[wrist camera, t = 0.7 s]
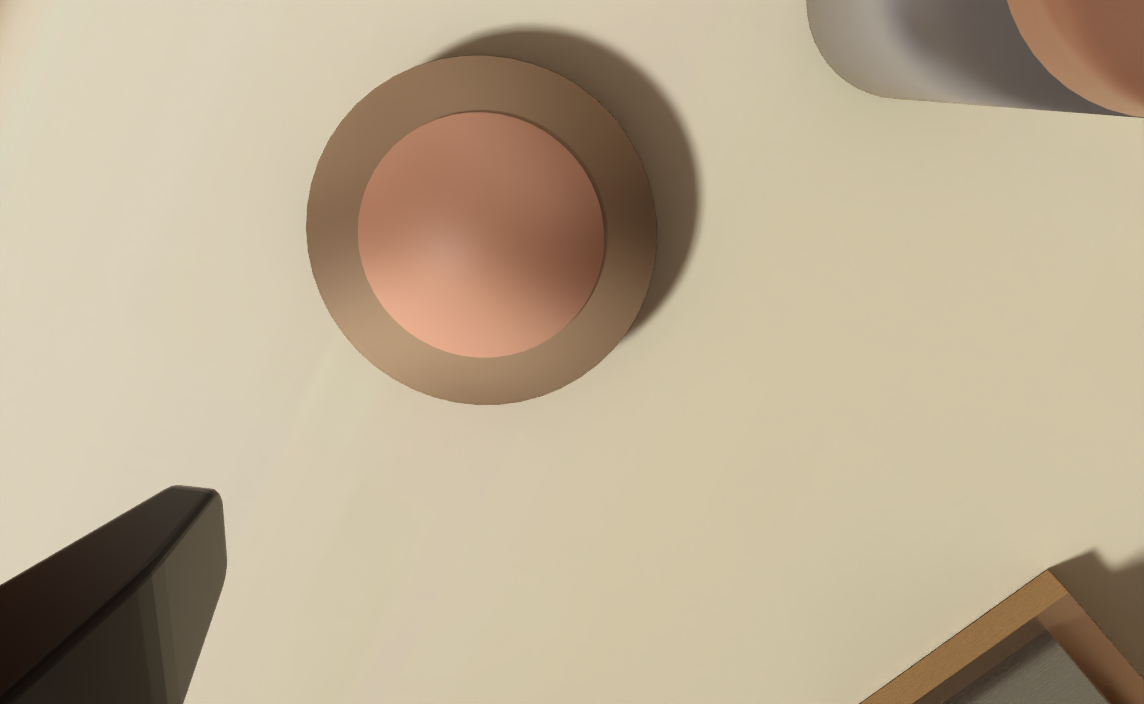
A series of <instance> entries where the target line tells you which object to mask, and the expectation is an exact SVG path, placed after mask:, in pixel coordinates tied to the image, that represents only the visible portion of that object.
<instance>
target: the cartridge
mask: <svg viewBox="0 0 1144 704" xmlns="http://www.w3.org/2000/svg"><path fill="white" fill-rule="evenodd" d="M806 4H807V16H808V21H809V25H810V30H811V32H812V35H813V38H814V41H815V43H816V45H817V47H818V49H819V51H820V53H821V55H822V56H823V57H824V59H825V60H826V62H827V63H828V65H829V66H830V67H831V68H832V69H833V70H834V71H835V72H836V73H837V74H838V75H839V76H840V77H842V78H843V79H844V80H845V81H846V82H848V83H850V84H851V85H853V86H855V87H856V88H858V89H860V90H862V91H865V92H867V93H869V94H873V95H877V96H880V97H886V98H894V99H906V100H919V101H932V102H945V103H958V104H971V105H984V106H997V107H1010V108H1023V109H1036V110H1049V111H1062V112H1075V113H1088V114H1101V115H1114V116H1127V117H1140V118H1144V0H806Z"/></svg>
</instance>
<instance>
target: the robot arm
mask: <svg viewBox="0 0 1144 704" xmlns="http://www.w3.org/2000/svg"><path fill="white" fill-rule="evenodd" d="M226 569H227V553H226V540H225V527H224V514H223V504H222V500H221V497H220V494H219V493H218V492H217V491H215V490H214V489H210V488H201V487H192V486H183V485H175V486H171V487H169V488H167V489H165V490H163V491H161V492H160V493H158V494H156V495H154V496H153V497H151V498H149V499H147V500H146V501H144V502H142V503H141V504H139V505H137V506H135V507H134V508H132V509H130V510H129V511H127V512H125V513H123V514H122V515H120V516H118V517H117V518H115V519H113V520H111V521H110V522H108V523H106V524H104V525H103V526H101V527H99V528H98V529H96V530H94V531H92V532H91V533H89V534H87V535H86V536H84V537H82V538H80V539H79V540H77V541H75V542H74V543H72V544H70V545H68V546H67V547H65V548H63V549H61V550H60V551H58V552H56V553H55V554H53V555H51V556H49V557H48V558H46V559H44V560H43V561H41V562H39V563H37V564H36V565H34V566H32V567H31V568H29V569H27V570H25V571H24V572H22V573H20V574H18V575H17V576H15V577H13V578H12V579H10V580H8V581H6V582H5V583H3V584H1V585H0V704H183V703H184V700H185V697H186V694H187V691H188V688H189V685H190V682H191V679H192V676H193V673H194V670H195V667H196V664H197V661H198V658H199V656H200V653H201V650H202V647H203V644H204V641H205V638H206V635H207V632H208V629H209V626H210V623H211V620H212V617H213V614H214V611H215V609H216V606H217V603H218V600H219V597H220V594H221V591H222V588H223V585H224V580H225V576H226Z"/></svg>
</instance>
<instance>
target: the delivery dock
mask: <svg viewBox="0 0 1144 704" xmlns="http://www.w3.org/2000/svg"><path fill="white" fill-rule="evenodd" d="M306 232H307V244H308V253H309V258H310V262H311V267H312V272H313V275H314V278H315V281H316V284H317V287H318V289H319V292H320V295H321V297H322V299H323V301H324V303H325V305H326V307H327V309H328V311H329V313H330V315H331V316H332V318H333V319H334V321H335V322H336V324H337V325H338V327H339V328H340V330H341V331H342V333H343V334H344V335H345V336H346V338H347V339H348V340H349V341H350V342H351V343H352V345H353V346H354V347H355V348H356V349H357V350H358V351H359V352H360V353H361V354H362V355H363V356H364V357H365V358H366V359H368V360H369V361H370V362H371V363H372V364H373V365H374V366H376V367H377V368H378V369H380V370H381V371H383V372H384V373H386V374H387V375H388V376H390V377H391V378H393V379H395V380H397V381H398V382H400V383H402V384H404V385H406V386H408V387H410V388H412V389H414V390H416V391H419V392H422V393H424V394H427V395H430V396H432V397H436V398H440V399H444V400H448V401H452V402H457V403H466V404H474V405H500V404H507V403H515V402H521V401H525V400H529V399H533V398H536V397H540V396H543V395H545V394H548V393H550V392H553V391H555V390H558V389H560V388H562V387H564V386H566V385H568V384H569V383H571V382H573V381H575V380H577V379H578V378H580V377H582V376H583V375H584V374H586V373H587V372H588V371H590V370H591V369H592V368H594V367H595V366H596V365H598V364H599V363H600V362H601V361H602V360H603V359H604V358H605V357H606V356H607V355H608V354H609V353H610V352H611V351H612V350H613V349H614V348H615V347H616V345H617V344H618V343H619V341H620V340H621V339H622V338H623V336H624V335H625V334H626V333H627V331H628V330H629V328H630V326H631V324H632V323H633V321H634V319H635V318H636V316H637V314H638V313H639V310H640V308H641V306H642V303H643V301H644V299H645V296H646V294H647V292H648V288H649V284H650V281H651V277H652V274H653V270H654V263H655V256H656V249H657V223H656V215H655V206H654V200H653V196H652V193H651V189H650V185H649V181H648V178H647V176H646V173H645V171H644V168H643V166H642V163H641V161H640V158H639V156H638V155H637V153H636V151H635V149H634V148H633V146H632V144H631V142H630V141H629V139H628V137H627V135H626V134H625V132H624V131H623V130H622V128H621V127H620V126H619V124H618V123H617V122H616V120H615V119H614V118H613V116H612V115H611V114H610V113H609V112H608V111H607V110H606V109H605V108H604V107H603V106H602V105H601V104H600V103H599V102H598V101H597V100H596V99H595V98H593V97H592V96H591V95H589V94H588V93H587V92H586V91H584V90H583V89H582V88H580V87H579V86H578V85H576V84H574V83H573V82H571V81H569V80H567V79H566V78H564V77H562V76H561V75H559V74H557V73H554V72H552V71H550V70H547V69H545V68H542V67H540V66H537V65H534V64H530V63H527V62H523V61H519V60H515V59H510V58H502V57H494V56H458V57H452V58H445V59H439V60H435V61H432V62H429V63H425V64H422V65H419V66H415V67H413V68H411V69H409V70H407V71H404V72H402V73H400V74H398V75H396V76H394V77H392V78H391V79H389V80H388V81H386V82H384V83H383V84H381V85H380V86H378V87H377V88H375V89H374V90H373V91H371V92H370V93H369V94H368V95H367V96H365V97H364V98H363V99H362V100H361V101H360V102H358V103H357V104H356V105H355V106H354V108H353V109H352V110H351V111H350V112H349V113H348V114H347V116H346V117H345V118H344V119H343V120H342V121H341V123H340V124H339V126H338V127H337V129H336V130H335V132H334V133H333V135H332V136H331V138H330V139H329V141H328V143H327V145H326V147H325V149H324V151H323V153H322V155H321V157H320V159H319V161H318V164H317V167H316V171H315V174H314V177H313V180H312V183H311V188H310V194H309V199H308V205H307V222H306Z"/></svg>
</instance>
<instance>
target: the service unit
mask: <svg viewBox="0 0 1144 704" xmlns="http://www.w3.org/2000/svg"><path fill="white" fill-rule="evenodd" d="M861 704H1144V680H1143V679H1142V678H1141V677H1140V675H1139V674H1138V673H1137V672H1136V671H1135V670H1134V668H1133V667H1132V666H1131V665H1130V664H1129V662H1128V661H1127V660H1126V659H1125V658H1124V657H1123V655H1122V654H1121V653H1120V652H1119V651H1118V650H1117V648H1116V647H1115V646H1114V645H1113V644H1112V643H1111V641H1110V640H1109V639H1108V638H1107V637H1106V636H1105V634H1104V633H1103V632H1102V631H1101V630H1100V629H1099V627H1098V626H1097V625H1096V624H1095V623H1094V621H1093V620H1092V619H1091V618H1090V617H1089V616H1088V614H1087V613H1086V612H1085V611H1084V610H1083V609H1082V607H1081V606H1080V605H1079V604H1078V603H1077V602H1076V600H1075V599H1074V598H1073V597H1072V596H1071V595H1070V593H1069V592H1068V591H1067V590H1066V589H1065V588H1064V587H1063V586H1062V585H1061V584H1060V582H1059V581H1058V580H1057V579H1056V578H1055V577H1054V576H1053V575H1052V574H1051V573H1050V572H1049V571H1048V570H1046V571H1045V572H1044V573H1042V574H1041V575H1039V576H1038V577H1037V578H1035V579H1034V580H1032V581H1031V582H1030V583H1028V584H1027V585H1025V586H1024V587H1023V588H1021V589H1020V590H1018V591H1017V592H1016V593H1014V594H1013V595H1011V596H1010V597H1009V598H1007V599H1006V600H1004V601H1003V602H1002V603H1000V604H999V605H997V606H996V607H995V608H993V609H992V610H991V611H989V612H988V613H986V614H985V615H984V616H982V617H981V618H979V619H978V620H977V621H975V622H974V623H972V624H971V625H970V626H968V627H967V628H965V629H964V630H963V631H961V632H960V633H958V634H957V635H956V636H954V637H953V638H951V639H950V640H949V641H947V642H946V643H945V644H943V645H942V646H940V647H939V648H938V649H936V650H935V651H933V652H932V653H931V654H929V655H928V656H926V657H925V658H924V659H922V660H921V661H919V662H918V663H917V664H915V665H914V666H912V667H911V668H910V669H908V670H907V671H905V672H904V673H903V674H901V675H900V676H898V677H897V678H896V679H894V680H893V681H892V682H890V683H889V684H887V685H886V686H885V687H883V688H882V689H880V690H879V691H878V692H876V693H875V694H873V695H872V696H871V697H869V698H868V699H866V700H865V701H864V702H862V703H861Z"/></svg>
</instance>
